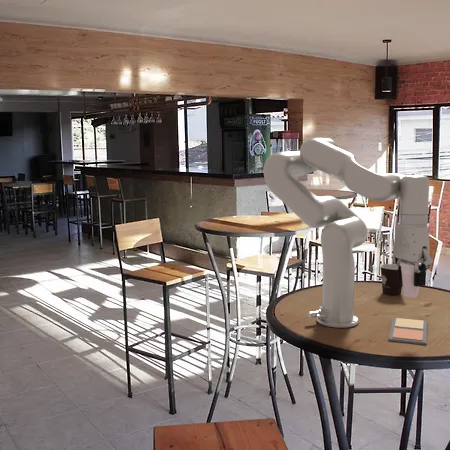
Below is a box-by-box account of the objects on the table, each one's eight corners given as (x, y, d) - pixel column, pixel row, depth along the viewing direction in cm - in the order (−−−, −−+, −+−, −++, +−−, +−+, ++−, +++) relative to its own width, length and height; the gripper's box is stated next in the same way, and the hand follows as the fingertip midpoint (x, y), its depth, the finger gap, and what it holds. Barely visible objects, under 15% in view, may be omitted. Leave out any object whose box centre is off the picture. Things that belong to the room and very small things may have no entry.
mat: (426, 344, 159) (426, 341, 158) (388, 340, 162) (388, 337, 162) (427, 322, 177) (427, 319, 177) (393, 319, 180) (393, 316, 180)
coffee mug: (378, 289, 215) (379, 263, 213) (402, 290, 214) (403, 264, 212) (382, 298, 204) (383, 271, 202) (407, 299, 202) (408, 271, 201)
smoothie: (396, 297, 162) (398, 248, 160) (401, 291, 167) (403, 244, 165) (420, 300, 159) (422, 250, 157) (424, 294, 164) (426, 246, 162)
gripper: (382, 216, 166) (380, 277, 169) (423, 224, 150) (420, 291, 153) (404, 215, 169) (401, 275, 172) (446, 223, 153) (443, 289, 156)
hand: (410, 282), depth 162 cm, fingers closed on smoothie, 6 cm apart
